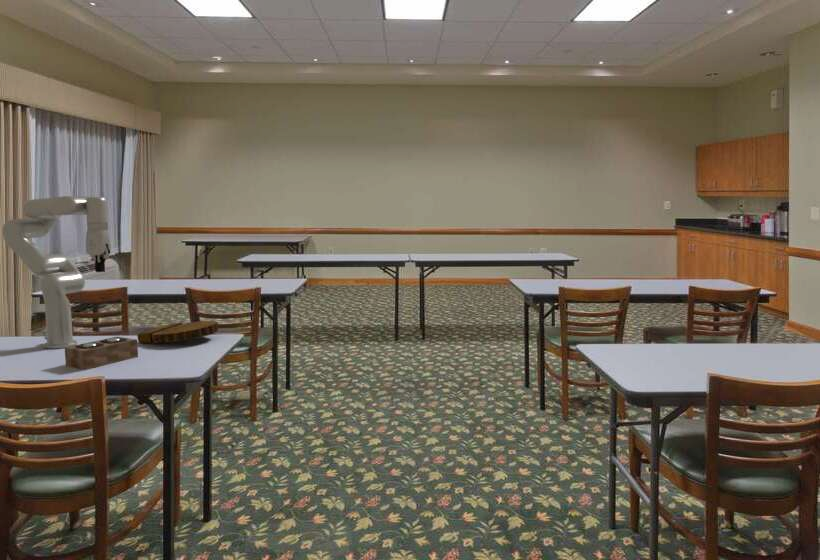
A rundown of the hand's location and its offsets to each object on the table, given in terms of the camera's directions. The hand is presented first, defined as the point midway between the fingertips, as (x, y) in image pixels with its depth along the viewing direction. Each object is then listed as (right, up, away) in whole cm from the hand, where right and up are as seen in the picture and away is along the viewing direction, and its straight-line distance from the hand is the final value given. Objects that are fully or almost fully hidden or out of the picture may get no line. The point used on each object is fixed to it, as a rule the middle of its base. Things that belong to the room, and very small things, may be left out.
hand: (100, 271), depth 241 cm
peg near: (+6, -35, -18) cm, 40 cm away
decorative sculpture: (+25, -31, +24) cm, 47 cm away
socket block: (+9, -35, -14) cm, 39 cm away
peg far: (+11, -34, -10) cm, 37 cm away
